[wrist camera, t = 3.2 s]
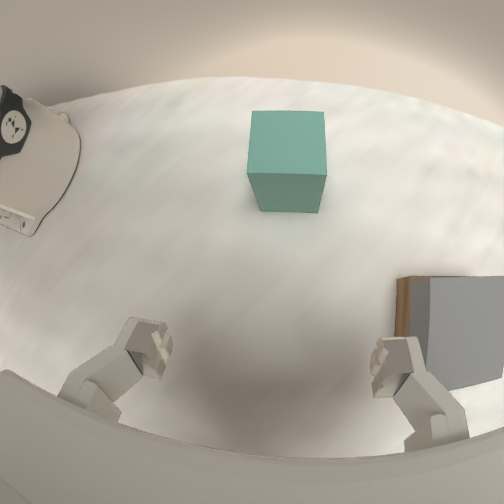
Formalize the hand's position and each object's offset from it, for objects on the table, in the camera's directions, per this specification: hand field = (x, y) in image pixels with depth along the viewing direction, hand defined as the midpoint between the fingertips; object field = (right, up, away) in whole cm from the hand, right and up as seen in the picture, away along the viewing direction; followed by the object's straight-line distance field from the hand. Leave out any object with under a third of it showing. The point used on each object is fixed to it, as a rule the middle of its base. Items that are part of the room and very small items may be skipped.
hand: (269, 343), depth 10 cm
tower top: (+15, -3, +8) cm, 17 cm away
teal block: (+3, +9, +15) cm, 18 cm away
